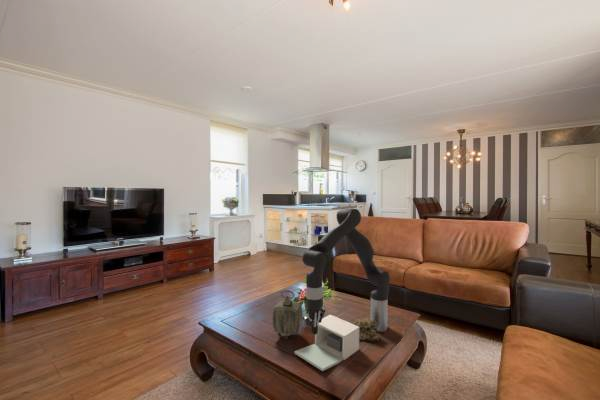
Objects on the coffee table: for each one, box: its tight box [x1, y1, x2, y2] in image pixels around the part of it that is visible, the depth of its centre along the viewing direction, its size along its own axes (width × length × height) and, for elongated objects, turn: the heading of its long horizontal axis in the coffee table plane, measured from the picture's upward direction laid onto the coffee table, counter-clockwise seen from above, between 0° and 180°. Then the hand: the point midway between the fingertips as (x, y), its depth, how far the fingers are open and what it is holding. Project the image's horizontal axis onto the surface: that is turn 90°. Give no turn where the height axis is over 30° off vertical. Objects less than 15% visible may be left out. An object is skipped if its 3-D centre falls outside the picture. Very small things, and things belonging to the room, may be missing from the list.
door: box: [294, 343, 343, 372], centre depth 125 cm, size 2×17×14 cm
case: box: [314, 314, 360, 361], centre depth 135 cm, size 12×18×12 cm, turn 44°
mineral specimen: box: [352, 317, 380, 343], centre depth 145 cm, size 14×13×10 cm
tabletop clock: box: [272, 290, 304, 340], centre depth 144 cm, size 14×9×25 cm, turn 77°
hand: (314, 333), depth 123 cm, fingers closed
